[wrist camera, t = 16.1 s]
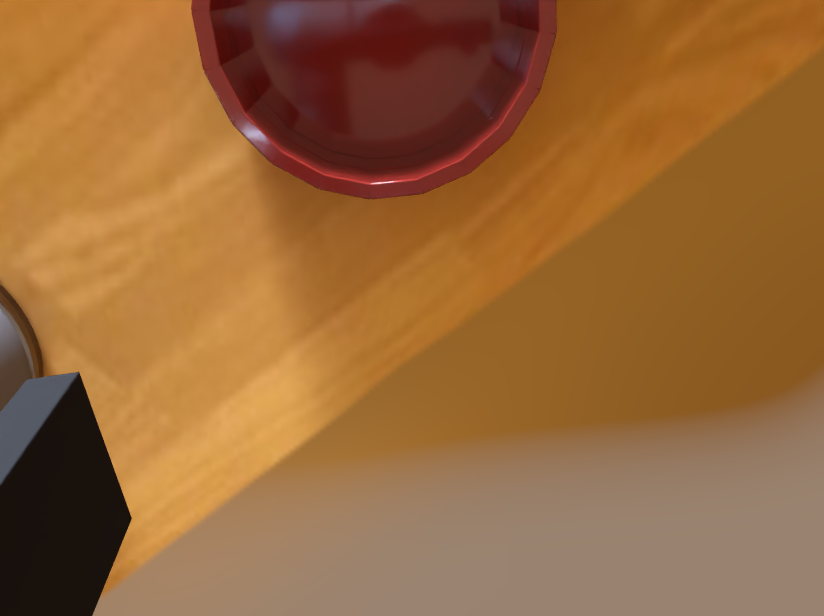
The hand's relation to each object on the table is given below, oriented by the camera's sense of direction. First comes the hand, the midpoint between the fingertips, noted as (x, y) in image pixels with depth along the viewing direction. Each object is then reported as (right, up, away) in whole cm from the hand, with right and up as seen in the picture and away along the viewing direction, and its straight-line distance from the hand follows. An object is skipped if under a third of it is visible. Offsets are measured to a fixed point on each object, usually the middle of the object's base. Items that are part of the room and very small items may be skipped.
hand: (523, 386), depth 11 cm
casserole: (-4, +16, +26) cm, 31 cm away
